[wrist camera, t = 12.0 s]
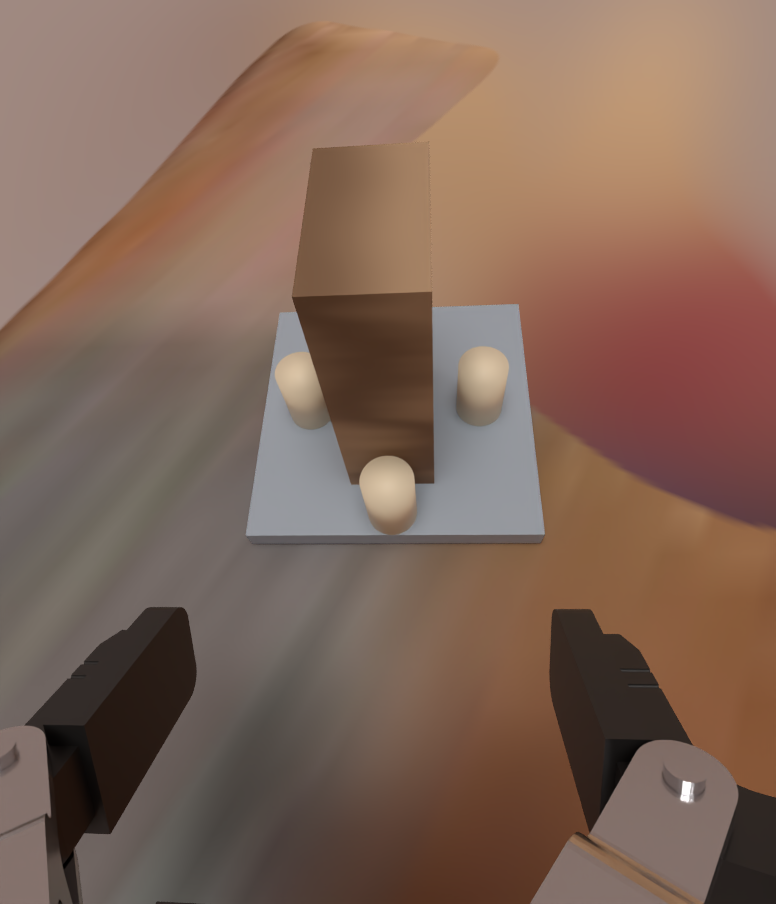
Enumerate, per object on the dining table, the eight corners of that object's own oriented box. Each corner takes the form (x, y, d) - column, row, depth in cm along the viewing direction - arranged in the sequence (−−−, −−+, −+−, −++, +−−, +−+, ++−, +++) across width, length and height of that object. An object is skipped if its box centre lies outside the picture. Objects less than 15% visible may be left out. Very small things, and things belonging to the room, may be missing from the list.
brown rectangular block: (432, 367, 26) (429, 141, 17) (434, 483, 23) (431, 291, 14) (358, 369, 27) (313, 148, 17) (351, 484, 24) (291, 297, 14)
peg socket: (515, 317, 29) (526, 256, 25) (540, 543, 23) (559, 504, 19) (284, 325, 30) (264, 267, 26) (252, 543, 24) (220, 506, 20)
